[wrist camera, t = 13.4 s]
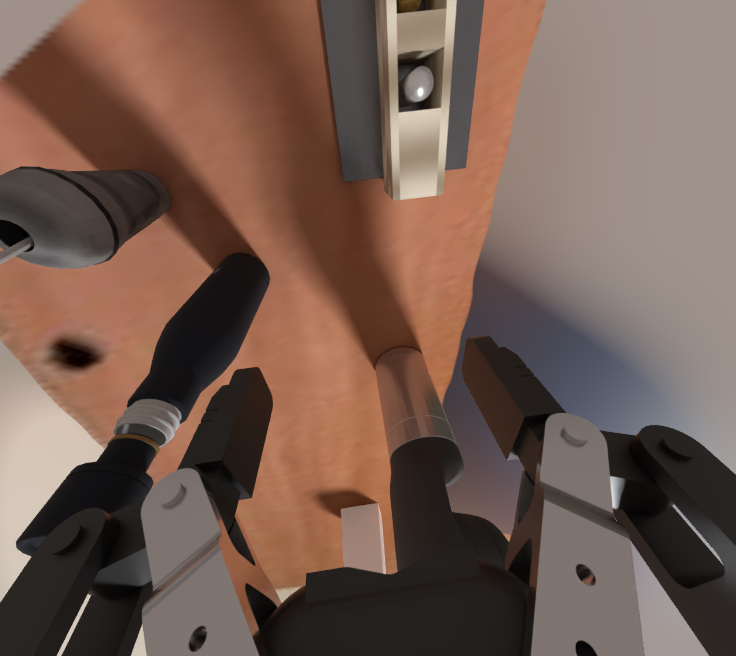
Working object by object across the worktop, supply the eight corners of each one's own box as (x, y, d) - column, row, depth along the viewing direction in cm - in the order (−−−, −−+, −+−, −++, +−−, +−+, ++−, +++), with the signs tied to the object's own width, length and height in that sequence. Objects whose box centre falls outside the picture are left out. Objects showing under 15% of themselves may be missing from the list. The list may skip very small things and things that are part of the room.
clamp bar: (426, 185, 31) (443, 194, 26) (384, 190, 31) (393, 200, 26) (435, -57, 21) (464, -113, 16) (372, -50, 21) (382, -105, 16)
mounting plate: (462, 167, 31) (492, 175, 25) (343, 180, 31) (344, 192, 25) (482, -22, 23) (533, -78, 17) (319, -6, 23) (313, -55, 17)
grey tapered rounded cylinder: (160, 149, 28) (-83, 173, 12) (196, 221, 32) (54, 311, 16) (91, 160, 28) (-246, 199, 12) (136, 231, 32) (-65, 330, 16)
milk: (377, 502, 85) (390, 623, 64) (381, 516, 92) (394, 629, 71) (340, 508, 85) (341, 630, 64) (347, 521, 92) (349, 636, 71)
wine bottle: (264, 301, 39) (147, 570, 15) (217, 287, 37) (-4, 570, 13) (274, 263, 36) (147, 528, 12) (223, 245, 34) (-54, 519, 10)
